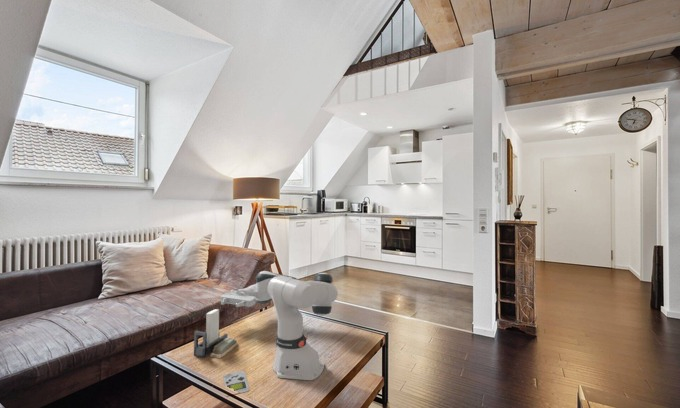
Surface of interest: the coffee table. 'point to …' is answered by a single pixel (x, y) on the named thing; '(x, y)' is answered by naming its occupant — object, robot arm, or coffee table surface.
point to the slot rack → (205, 344)
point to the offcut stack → (224, 347)
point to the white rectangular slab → (212, 326)
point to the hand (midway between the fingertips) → (229, 304)
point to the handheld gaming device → (236, 381)
